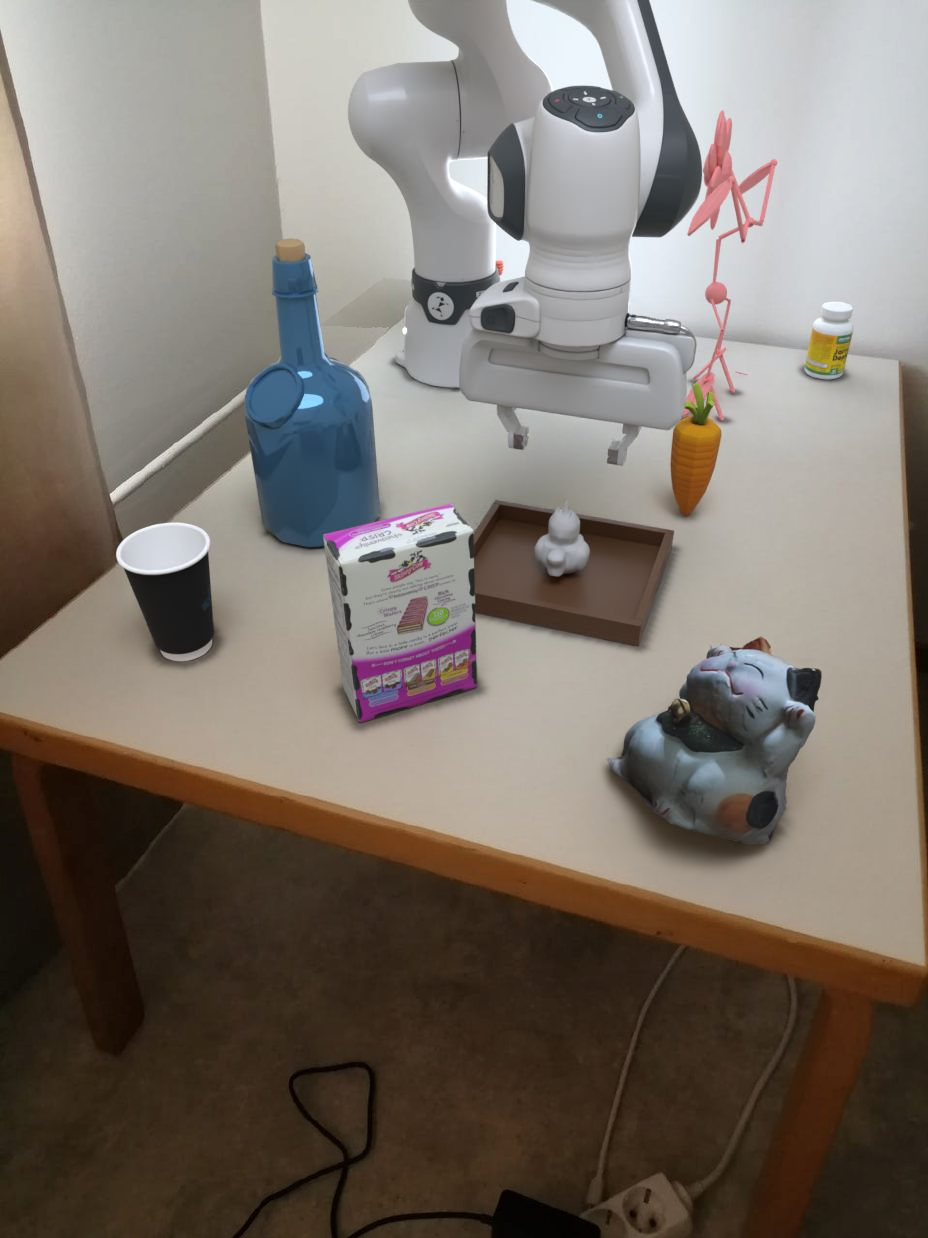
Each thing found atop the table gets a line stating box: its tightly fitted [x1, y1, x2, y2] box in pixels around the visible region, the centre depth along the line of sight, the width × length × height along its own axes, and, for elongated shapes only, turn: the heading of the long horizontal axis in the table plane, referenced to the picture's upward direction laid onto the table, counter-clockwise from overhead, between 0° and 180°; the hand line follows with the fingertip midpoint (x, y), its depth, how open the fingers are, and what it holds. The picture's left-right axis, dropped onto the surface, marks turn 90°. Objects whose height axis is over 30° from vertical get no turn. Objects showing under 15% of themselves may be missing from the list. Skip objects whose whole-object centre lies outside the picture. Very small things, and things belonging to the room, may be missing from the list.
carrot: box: [670, 382, 722, 517], centre depth 103 cm, size 5×5×15 cm
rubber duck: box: [534, 498, 590, 577], centre depth 96 cm, size 5×7×8 cm
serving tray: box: [473, 499, 675, 647], centre depth 98 cm, size 17×20×2 cm
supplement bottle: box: [804, 300, 854, 380], centre depth 135 cm, size 5×5×10 cm
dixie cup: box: [115, 522, 215, 662], centre depth 87 cm, size 8×8×11 cm
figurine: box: [681, 109, 778, 421], centre depth 121 cm, size 15×26×35 cm, turn 159°
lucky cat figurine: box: [606, 636, 823, 845], centre depth 72 cm, size 15×12×14 cm
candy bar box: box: [323, 503, 478, 723], centre depth 80 cm, size 11×5×16 cm, turn 114°
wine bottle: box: [244, 238, 381, 548], centre depth 99 cm, size 14×13×30 cm
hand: (566, 454), depth 91 cm, fingers open, 8 cm apart
